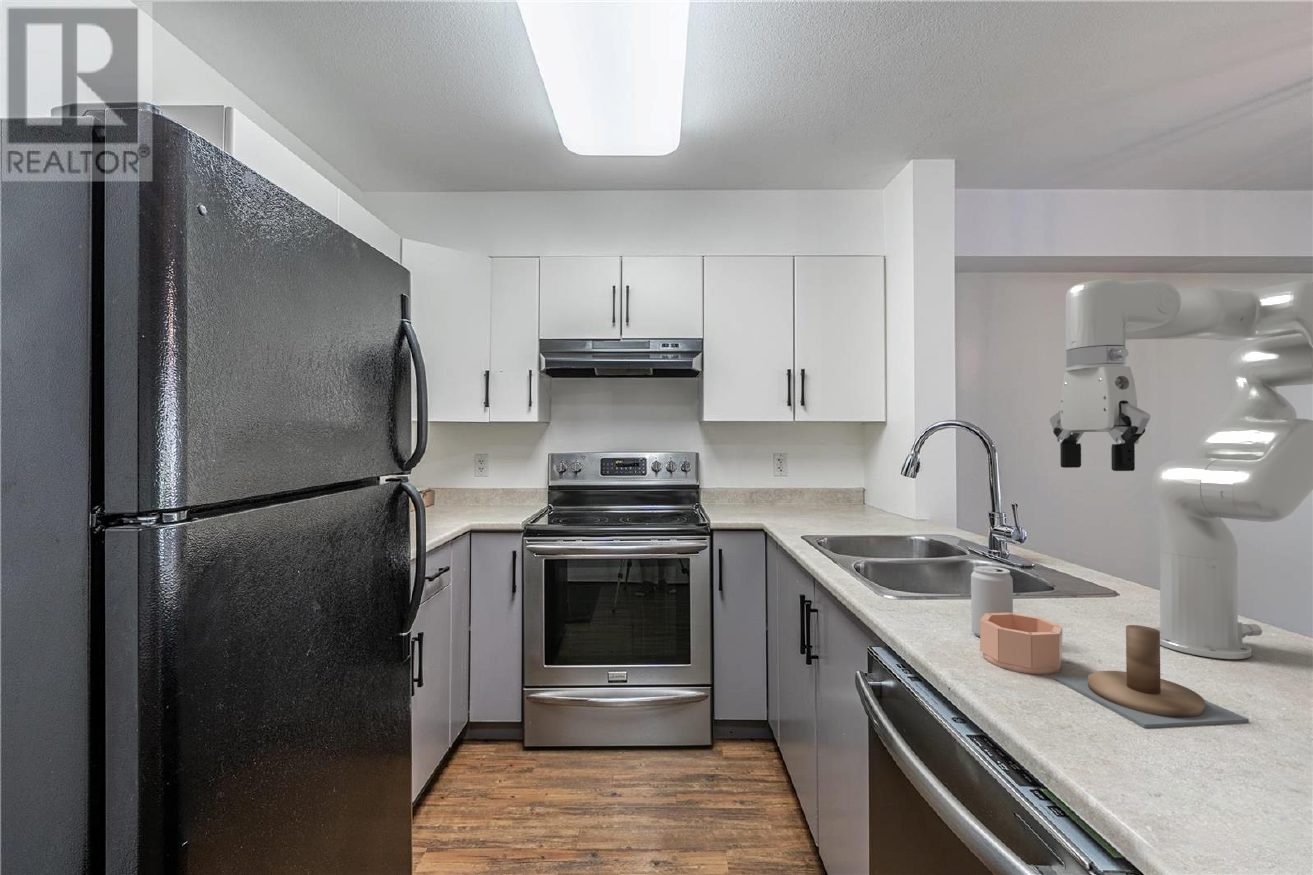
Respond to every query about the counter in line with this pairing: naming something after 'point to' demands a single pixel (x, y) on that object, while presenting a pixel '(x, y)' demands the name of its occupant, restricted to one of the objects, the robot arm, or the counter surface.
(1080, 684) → the mat
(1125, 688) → the lid
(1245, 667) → the counter surface
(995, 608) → the beverage can
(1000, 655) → the bowl
